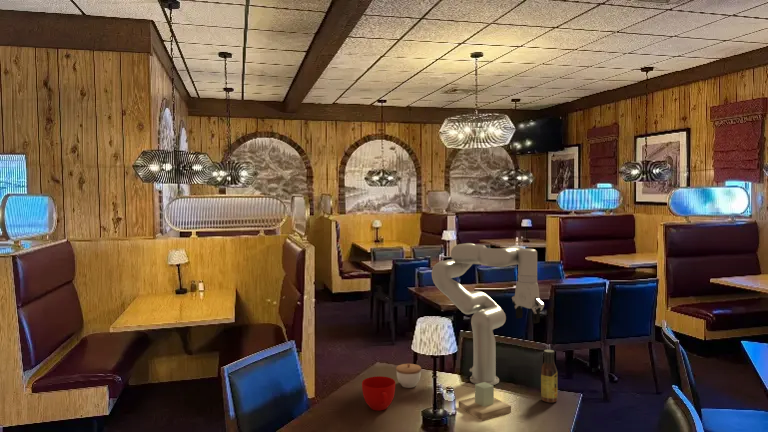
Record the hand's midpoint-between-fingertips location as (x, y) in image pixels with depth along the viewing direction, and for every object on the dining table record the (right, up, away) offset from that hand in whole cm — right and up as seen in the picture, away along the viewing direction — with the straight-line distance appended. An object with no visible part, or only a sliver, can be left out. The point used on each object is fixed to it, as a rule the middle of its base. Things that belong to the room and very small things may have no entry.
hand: (527, 320), depth 225 cm
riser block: (-20, -32, -14) cm, 41 cm away
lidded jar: (-48, -31, +12) cm, 58 cm away
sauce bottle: (+7, -31, -6) cm, 32 cm away
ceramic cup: (-60, -32, -13) cm, 69 cm away
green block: (-20, -29, -14) cm, 38 cm away
